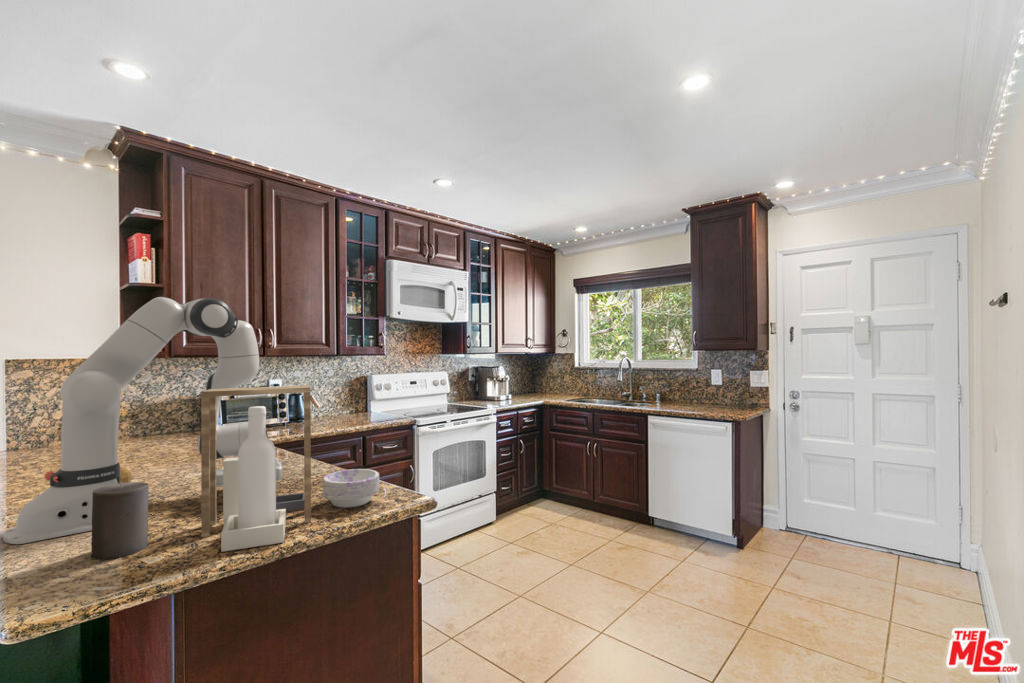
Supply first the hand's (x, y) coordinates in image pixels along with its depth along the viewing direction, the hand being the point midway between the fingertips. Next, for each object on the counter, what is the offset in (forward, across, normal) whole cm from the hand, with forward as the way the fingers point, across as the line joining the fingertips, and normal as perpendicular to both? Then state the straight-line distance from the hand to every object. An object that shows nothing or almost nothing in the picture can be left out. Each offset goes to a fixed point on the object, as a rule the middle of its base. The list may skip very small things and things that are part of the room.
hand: (240, 482), depth 132 cm
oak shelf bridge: (+14, +6, +8) cm, 17 cm away
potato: (-40, -40, +8) cm, 57 cm away
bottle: (+24, +6, +8) cm, 26 cm away
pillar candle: (+20, -20, +8) cm, 30 cm away
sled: (+21, +5, +7) cm, 22 cm away
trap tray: (+3, +10, +8) cm, 13 cm away
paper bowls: (+7, +28, +8) cm, 30 cm away
